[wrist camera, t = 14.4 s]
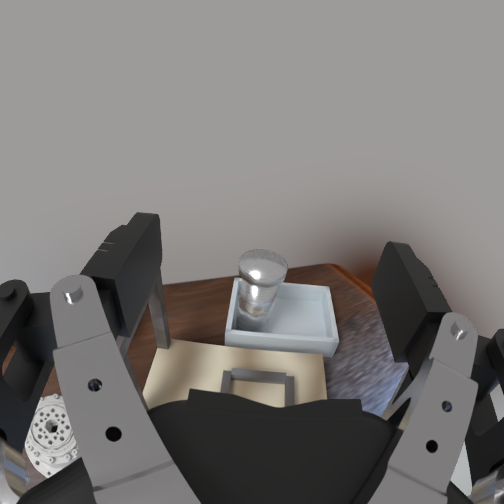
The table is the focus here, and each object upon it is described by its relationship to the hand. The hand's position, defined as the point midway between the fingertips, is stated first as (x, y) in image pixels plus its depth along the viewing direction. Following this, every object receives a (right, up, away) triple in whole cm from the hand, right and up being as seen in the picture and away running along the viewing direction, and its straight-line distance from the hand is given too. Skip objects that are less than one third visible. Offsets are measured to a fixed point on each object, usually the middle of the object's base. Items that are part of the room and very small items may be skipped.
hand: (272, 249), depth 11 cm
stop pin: (-1, -9, +27) cm, 29 cm away
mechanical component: (-19, -19, +12) cm, 29 cm away
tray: (+3, -9, +29) cm, 30 cm away
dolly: (-2, -16, +19) cm, 24 cm away
